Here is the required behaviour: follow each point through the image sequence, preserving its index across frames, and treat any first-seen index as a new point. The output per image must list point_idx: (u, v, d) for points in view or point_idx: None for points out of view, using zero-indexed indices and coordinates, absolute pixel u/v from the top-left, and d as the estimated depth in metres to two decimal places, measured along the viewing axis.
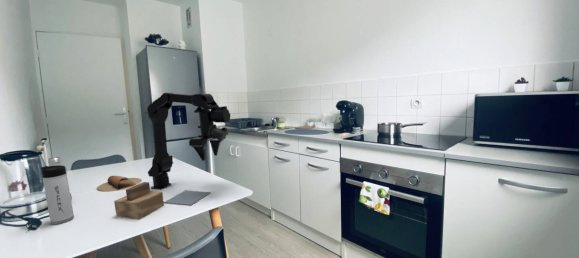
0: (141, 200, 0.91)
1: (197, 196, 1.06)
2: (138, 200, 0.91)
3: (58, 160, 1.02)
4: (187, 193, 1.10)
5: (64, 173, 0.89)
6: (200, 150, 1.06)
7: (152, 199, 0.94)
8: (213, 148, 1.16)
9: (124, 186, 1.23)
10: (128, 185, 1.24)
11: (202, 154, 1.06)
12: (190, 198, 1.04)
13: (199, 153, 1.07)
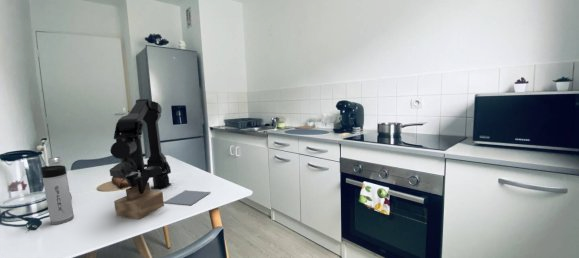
0: (141, 200, 0.91)
1: (197, 196, 1.06)
2: (138, 200, 0.91)
3: (58, 160, 1.02)
4: (187, 193, 1.10)
5: (64, 173, 0.89)
6: None
7: (152, 199, 0.94)
8: None
9: (126, 186, 1.24)
10: None
11: None
12: (190, 198, 1.04)
13: None
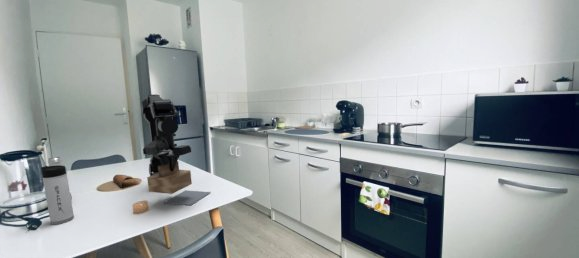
0: (172, 176, 0.96)
1: (197, 196, 1.06)
2: (169, 176, 0.97)
3: (58, 160, 1.02)
4: (187, 193, 1.10)
5: (64, 173, 0.89)
6: None
7: (182, 176, 1.00)
8: None
9: (128, 185, 1.24)
10: (132, 184, 1.25)
11: None
12: (190, 198, 1.04)
13: None
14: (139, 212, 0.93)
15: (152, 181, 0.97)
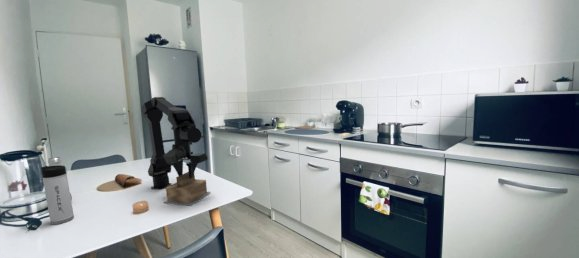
0: (190, 187, 1.01)
1: None
2: (187, 187, 1.01)
3: (58, 160, 1.02)
4: None
5: (64, 173, 0.89)
6: None
7: (199, 186, 1.05)
8: None
9: (130, 185, 1.24)
10: (134, 184, 1.26)
11: None
12: None
13: None
14: (139, 212, 0.93)
15: (171, 191, 1.01)
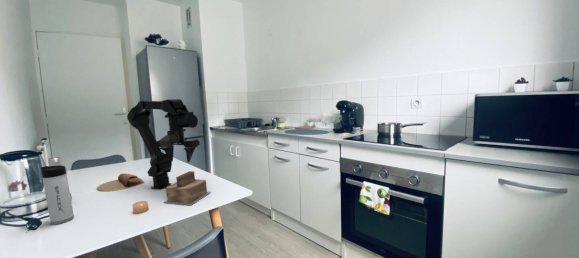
0: (190, 187, 1.01)
1: None
2: (187, 187, 1.01)
3: (58, 160, 1.02)
4: None
5: (64, 173, 0.89)
6: None
7: (199, 186, 1.05)
8: None
9: (133, 184, 1.25)
10: (137, 183, 1.26)
11: None
12: None
13: None
14: (139, 212, 0.93)
15: (171, 191, 1.01)
